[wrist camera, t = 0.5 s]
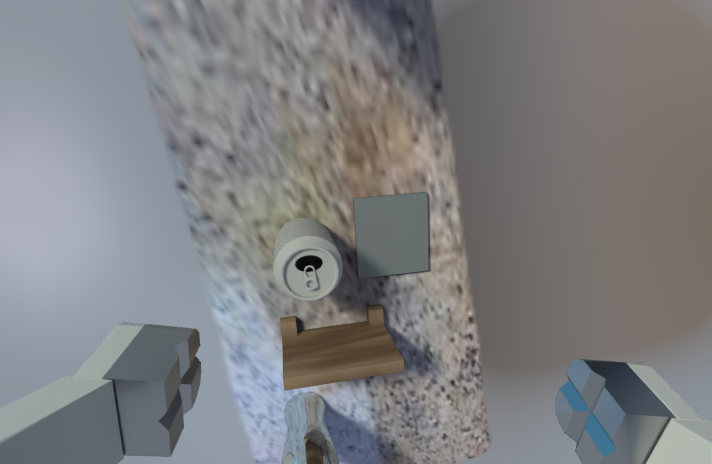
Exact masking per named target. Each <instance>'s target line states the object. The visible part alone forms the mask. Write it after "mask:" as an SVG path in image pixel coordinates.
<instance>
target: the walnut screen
mask: <svg viewBox="0 0 712 464" xmlns="http://www.w3.org/2000/svg"><path fill="white" fill-rule="evenodd" d="M367 320H368V321H365V322H358V323H350V324H343V325H336V326H329V327H322V328H314V329H307V330H300V331H297V327H296V318H295V316H292V317H284V318H281V330H282V344H283V382H284V390H291V389H298V388H304V387H310V386H316V385H322V384H329V383H335V382H341V381H347V380H353V379H360V378H366V377H372V376H378V375H384V374H391V373H397V372H403V371H404V360H403V358H402V356H401V354H400V353H399V351H398V349H397V347H396V345H395V343H394V342H393V340H392V338H391V336H390V334H389V332H388V331H387V329H386V327H385V325H384V317H383V308H382V306H381V305H374V306H367Z"/></svg>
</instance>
